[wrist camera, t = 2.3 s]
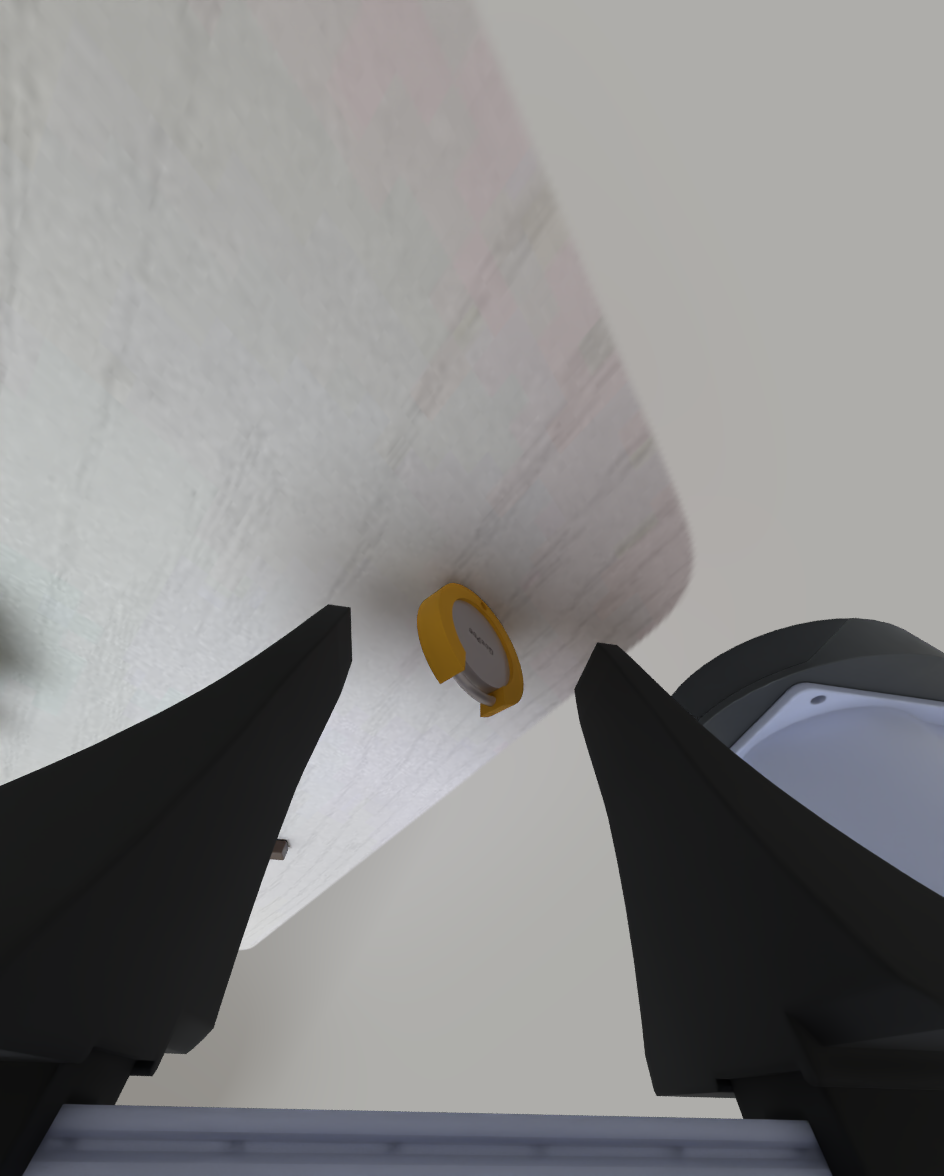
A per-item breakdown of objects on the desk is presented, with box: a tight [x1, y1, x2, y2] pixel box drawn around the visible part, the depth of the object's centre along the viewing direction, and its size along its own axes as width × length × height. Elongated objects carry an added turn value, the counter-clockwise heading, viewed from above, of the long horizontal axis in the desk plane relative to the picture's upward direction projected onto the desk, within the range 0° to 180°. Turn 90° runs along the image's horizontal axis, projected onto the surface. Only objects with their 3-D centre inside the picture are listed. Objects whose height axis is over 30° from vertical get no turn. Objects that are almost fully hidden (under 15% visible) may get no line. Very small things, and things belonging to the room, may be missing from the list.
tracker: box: [417, 583, 523, 717], centre depth 10 cm, size 4×1×4 cm, turn 39°
